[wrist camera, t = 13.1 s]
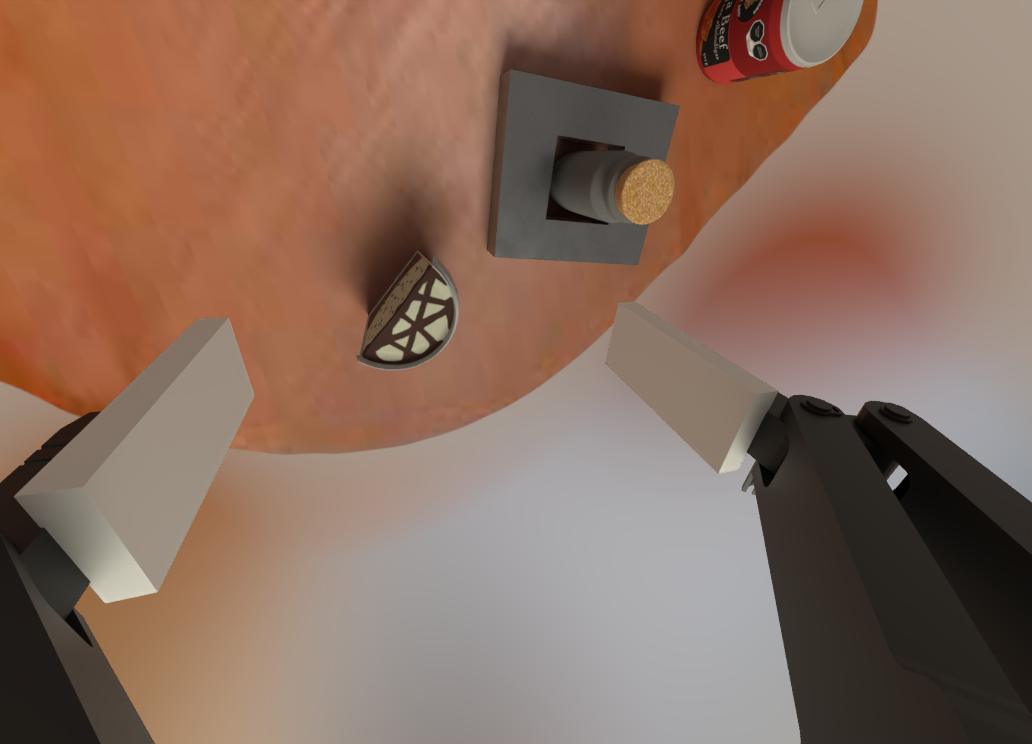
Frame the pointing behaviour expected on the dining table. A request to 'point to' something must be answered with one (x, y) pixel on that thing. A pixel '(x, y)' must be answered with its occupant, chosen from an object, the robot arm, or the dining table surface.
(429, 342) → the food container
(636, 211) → the bottle
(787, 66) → the canned food
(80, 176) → the dining table surface
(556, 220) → the plate
